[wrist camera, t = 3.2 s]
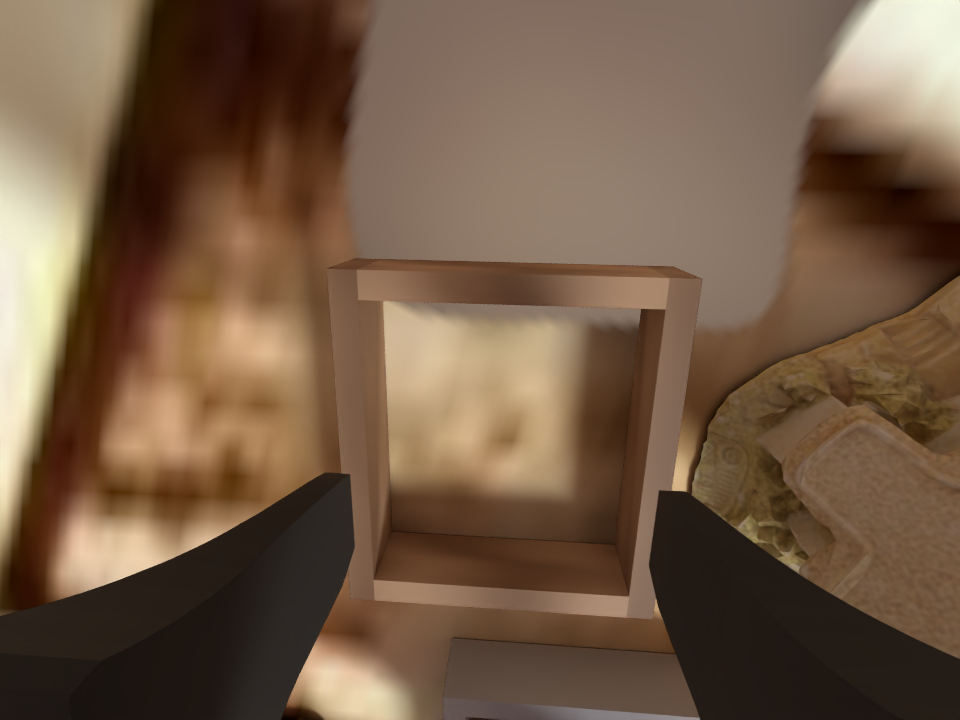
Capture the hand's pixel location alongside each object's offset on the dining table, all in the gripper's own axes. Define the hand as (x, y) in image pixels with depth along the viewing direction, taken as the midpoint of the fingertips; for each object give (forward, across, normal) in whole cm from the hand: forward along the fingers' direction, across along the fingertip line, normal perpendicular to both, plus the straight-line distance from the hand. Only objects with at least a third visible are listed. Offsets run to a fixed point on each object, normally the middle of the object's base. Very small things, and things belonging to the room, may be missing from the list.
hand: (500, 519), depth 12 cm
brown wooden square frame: (+5, 0, 0) cm, 5 cm away
